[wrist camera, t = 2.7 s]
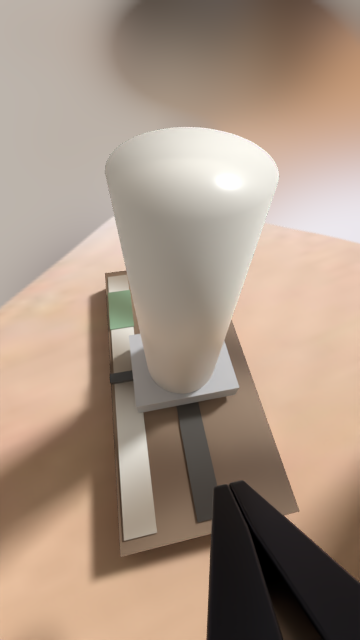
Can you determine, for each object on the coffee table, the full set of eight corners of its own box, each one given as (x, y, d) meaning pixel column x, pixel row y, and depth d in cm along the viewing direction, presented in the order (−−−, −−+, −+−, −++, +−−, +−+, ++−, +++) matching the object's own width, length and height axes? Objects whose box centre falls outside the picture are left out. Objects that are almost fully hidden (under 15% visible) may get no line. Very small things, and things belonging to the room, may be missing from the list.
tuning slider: (234, 394, 14) (355, 210, 5) (113, 418, 13) (-30, 253, 4) (215, 331, 16) (272, 117, 7) (109, 348, 16) (9, 134, 6)
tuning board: (287, 508, 13) (300, 511, 12) (126, 549, 12) (119, 557, 11) (208, 273, 21) (210, 258, 20) (109, 286, 21) (104, 271, 19)
